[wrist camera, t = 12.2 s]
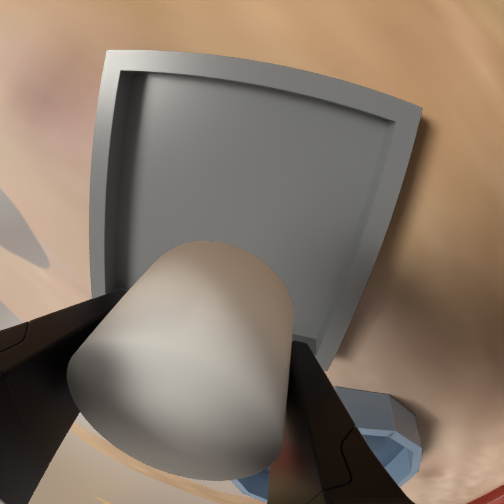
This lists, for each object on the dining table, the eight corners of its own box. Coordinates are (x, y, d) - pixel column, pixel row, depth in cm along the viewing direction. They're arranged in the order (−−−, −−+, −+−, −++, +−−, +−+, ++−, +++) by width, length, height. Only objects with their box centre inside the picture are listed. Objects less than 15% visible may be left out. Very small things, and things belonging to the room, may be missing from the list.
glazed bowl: (447, 399, 23) (458, 432, 20) (365, 486, 31) (366, 512, 27) (255, 369, 24) (247, 408, 20) (223, 467, 32) (216, 495, 28)
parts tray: (409, 108, 15) (422, 107, 13) (326, 350, 22) (327, 371, 20) (125, 55, 16) (106, 50, 14) (106, 290, 23) (92, 305, 21)
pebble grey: (314, 267, 9) (318, 389, 5) (270, 384, 11) (252, 494, 7) (148, 222, 9) (51, 303, 5) (141, 346, 11) (84, 438, 7)
